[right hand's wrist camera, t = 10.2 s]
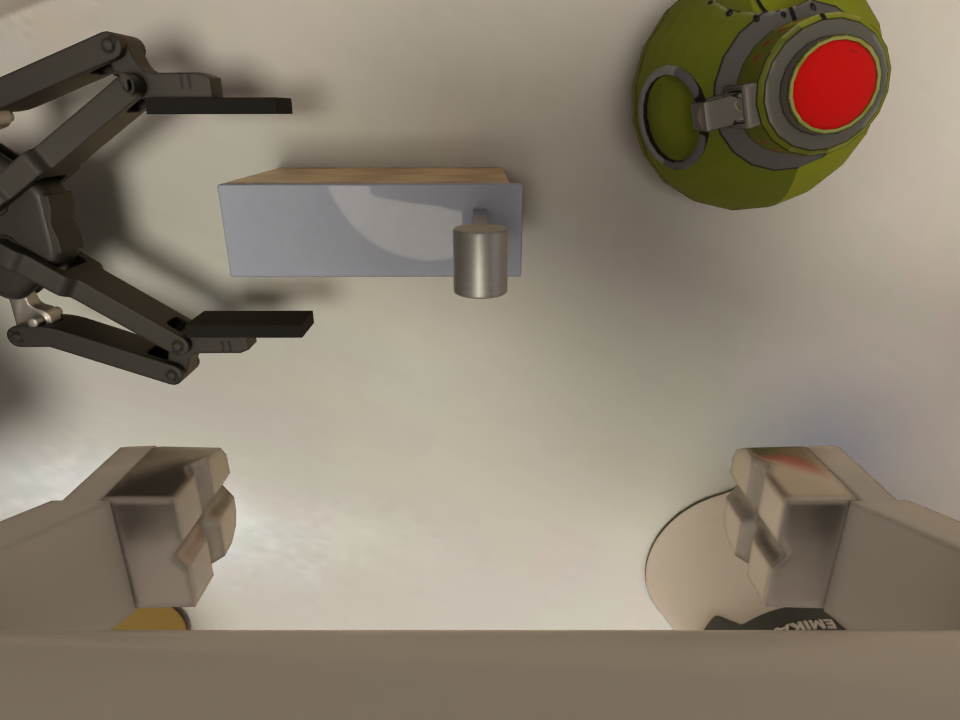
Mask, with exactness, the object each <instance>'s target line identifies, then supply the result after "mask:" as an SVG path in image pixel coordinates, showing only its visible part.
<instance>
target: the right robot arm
mask: <svg viewBox="0 0 960 720" xmlns="http://www.w3.org/2000/svg"><path fill="white" fill-rule="evenodd" d="M229 474H230V470H229V465H228V460H227V455H226V453H225V452H224V451H223V450H222V449H221V448H206V447H156V446H135V447H121V448H119V449H118V450H117V451H116V452H115V453H114V454H113V455H112V456H111V457H110V458H109V459H107V460H106V461H105V462H104V463H103V464H102V465H101V466H100V467H99V468H98V469H96V470H95V471H94V472H93V473H92V474H91V475H90V476H89V477H88V478H87V479H86V480H84V481H83V482H82V483H81V484H80V485H79V486H78V487H77V488H76V489H75V490H73V491H72V492H71V493H70V494H69V495H68V496H67V497H66V498H65V499H64V500H63V501H50V502H47V503H45V504H43V505H40V506H38V507H35V508H33V509H30V510H28V511H25V512H23V513H20V514H18V515H15V516H13V517H10V518H8V519H5V520H3V521H0V720H960V522H959V521H957V520H955V519H952V518H950V517H947V516H945V515H942V514H940V513H937V512H935V511H932V510H930V509H927V508H925V507H922V506H920V505H917V504H915V503H913V502H910V501H897V500H896V499H895V498H894V497H893V496H892V495H891V494H890V493H889V492H888V491H887V490H885V489H884V488H883V487H882V486H881V485H880V484H879V483H878V482H877V481H876V480H875V479H873V478H872V477H871V476H870V475H869V474H868V473H867V472H866V471H865V470H864V469H863V468H861V467H860V466H859V465H858V464H857V463H856V462H855V461H854V460H853V459H852V458H851V457H849V456H848V455H847V454H846V453H845V452H844V451H843V450H842V449H841V448H838V447H834V446H816V447H764V448H741V449H737V450H736V452H735V454H734V456H733V459H732V464H731V470H730V474H731V475H732V477H733V478H734V480H735V481H736V483H737V484H738V485H737V486H736V487H735V488H734V489H733V490H732V491H730V492H728V493H724V494H721V495H718V496H715V497H712V498H709V499H707V500H704V501H702V502H700V503H698V504H696V505H694V506H692V507H690V508H689V509H687V510H686V511H684V512H683V513H681V514H680V515H679V516H677V517H676V518H675V519H674V520H673V521H672V522H671V523H670V524H669V525H668V526H667V527H666V528H665V529H664V530H663V531H662V532H661V534H660V535H659V537H658V538H657V540H656V541H655V543H654V545H653V547H652V549H651V551H650V554H649V557H648V560H647V565H646V585H647V590H648V593H649V596H650V598H651V600H652V602H653V604H654V605H655V607H656V608H657V609H658V611H659V612H660V613H661V614H662V615H663V617H664V618H665V619H666V621H667V622H668V623H669V625H670V626H671V627H672V629H673V630H112V629H113V628H114V627H116V626H117V625H118V624H120V623H121V622H122V621H124V620H125V619H126V618H128V617H129V616H130V615H132V614H133V613H134V612H136V608H162V607H195V606H196V604H197V603H198V601H199V599H200V598H201V596H202V594H203V592H204V591H205V589H206V587H207V586H208V584H209V582H210V580H211V579H212V577H213V570H212V563H214V562H215V561H217V560H219V559H220V558H222V557H224V556H225V554H226V553H227V551H228V549H229V547H230V545H231V543H232V540H233V535H234V531H235V527H236V507H235V500H234V496H233V495H232V494H231V493H230V492H229V491H228V490H227V489H226V488H225V487H224V486H223V485H222V484H223V483H224V481H225V480H226V478H227V477H228V475H229Z"/></svg>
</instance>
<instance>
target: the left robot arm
mask: <svg viewBox="0 0 960 720" xmlns="http://www.w3.org/2000/svg"><path fill="white" fill-rule="evenodd" d="M145 55H146V50H145V46H144V44H143V43H142V42H141V41H140V40H139V39H137V38H135V37H131V36H126V35H122V34H117V33H112V32H108V31H106V32H101V33H99V34H97V35H94V36H92V37H90V38H88V39H85V40H83V41H81V42H79V43H76V44H74V45H72V46H70V47H67V48H65V49H63V50H61V51H58V52H56V53H54V54H52V55H49V56H47V57H45V58H43V59H40V60H38V61H36V62H34V63H31V64H29V65H27V66H25V67H22V68H20V69H18V70H16V71H13V72H11V73H9V74H7V75H4V76H2V77H0V129H3V128H6V127H8V126H9V125H10V123H11V122H12V121H13V120H14V114H13V113H12V112H18V111H24V110H29V109H32V108H35V107H37V106H39V105H42V104H44V103H46V102H49V101H51V100H53V99H56V98H58V97H60V96H63V95H65V94H67V93H69V92H72V91H74V90H76V89H79V88H81V87H83V86H86V85H88V84H90V83H93V82H95V81H97V80H99V79H102V78H104V77H106V76H109V75H111V74H113V75H114V76H117V78H116V79H115V80H114V81H113V82H111V83H110V84H109V85H108V86H107V87H106V88H104V89H103V90H102V91H101V92H100V93H99V94H97V95H96V96H95V97H94V98H93V99H91V100H90V101H89V102H88V103H87V104H86V105H84V106H83V107H82V108H81V109H80V110H79V111H77V112H76V113H75V114H74V115H73V116H72V117H70V118H69V119H68V120H67V121H66V122H64V123H63V124H62V125H61V126H60V127H59V128H57V129H56V130H55V131H54V132H53V133H52V134H50V135H49V136H48V137H47V138H46V139H44V140H43V141H42V142H41V143H40V144H39V145H37V146H36V147H35V148H33V149H31V150H28V151H26V152H24V153H23V154H21V155H19V154H18V153H16V152H14V151H13V150H11V149H10V148H8V147H7V146H5V145H3V144H2V143H0V296H2V297H5V298H8V299H10V303H11V306H12V310H13V314H14V317H15V321H16V324H17V325H16V326H14V327H11V328H10V329H9V330H8V332H7V337H8V339H9V341H10V342H11V343H12V344H13V345H15V346H19V347H52V348H56V349H59V350H62V351H65V352H68V353H72V354H75V355H78V356H81V357H84V358H88V359H91V360H94V361H97V362H101V363H104V364H107V365H110V366H113V367H117V368H120V369H123V370H126V371H129V372H133V373H136V374H139V375H142V376H146V377H149V378H152V379H155V380H158V381H162V382H165V383H168V384H172V385H176V384H179V383H180V382H181V381H182V380H184V379H185V378H186V377H187V376H188V375H189V374H190V373H191V372H192V371H194V370H195V369H196V368H197V367H198V365H199V358H198V355H199V353H241V352H244V351H246V350H249V349H250V348H251V347H252V346H253V345H254V344H255V343H256V342H257V341H256V338H302V337H303V336H304V335H305V333H306V332H307V331H308V330H309V328H310V327H311V326H312V325H313V323H314V319H313V311H204V312H202V313H201V314H200V315H198V316H197V317H195V318H194V319H193V320H191V319H189V318H187V317H185V316H184V315H182V314H180V313H178V312H177V311H175V310H173V309H171V308H170V307H168V306H166V305H164V304H163V303H161V302H159V301H157V300H156V299H154V298H152V297H150V296H149V295H147V294H145V293H143V292H142V291H140V290H138V289H136V288H135V287H133V286H131V285H129V284H128V283H126V282H124V281H122V280H121V279H119V278H117V277H115V276H114V275H112V274H110V273H108V272H107V271H105V270H104V269H103V268H102V265H101V264H100V263H99V262H97V261H96V260H94V259H92V258H90V257H89V256H87V255H85V254H83V253H82V252H80V251H79V248H81V247H84V246H83V242H82V237H81V233H80V231H79V229H78V227H77V225H76V223H75V221H74V203H73V198H72V194H71V191H66V190H65V188H64V187H63V185H62V183H63V182H64V181H65V180H66V179H68V178H69V177H70V176H71V175H73V174H74V173H75V172H76V171H77V170H78V169H79V168H80V164H81V163H83V162H84V161H85V160H86V159H87V158H89V157H90V156H91V155H92V154H94V153H95V152H96V151H97V150H98V149H100V148H101V147H102V146H103V145H104V144H106V143H107V142H108V141H109V140H110V139H112V138H113V137H114V136H115V135H117V134H118V133H119V132H120V131H121V130H123V129H124V128H125V127H126V126H127V125H129V124H130V123H131V122H132V121H133V120H135V119H136V118H137V117H138V116H140V115H141V114H142V113H143V112H144V111H147V114H293V113H292V103H291V99H290V98H276V97H259V98H223V93H222V86H221V79H220V78H218V77H216V76H213V75H211V74H205V73H158V72H156V71H155V70H154V69H153V68H152V67H151V66H150V64H149V63H148V61H147V59H146V57H145ZM65 269H66V270H65ZM43 288H45V289H47V290H49V291H51V292H53V293H54V294H57V295H59V296H64V297H71V298H73V299H75V300H77V301H79V302H81V303H82V304H84V305H86V306H88V307H89V308H91V309H93V310H95V311H97V312H98V313H100V314H102V315H104V316H106V317H107V318H109V319H111V320H113V321H115V322H116V323H118V324H120V325H122V326H124V327H125V328H127V329H129V330H131V331H133V332H134V333H131V332H128V331H125V330H122V329H119V328H116V327H113V326H110V325H106V324H103V323H100V322H97V321H94V320H91V319H88V318H84V317H80V316H76V315H69V314H63V311H62V309H61V308H60V307H58V306H55V307H54V306H52V305H48V304H45V303H43V302H42V301H41V300H40V299H39V298H38V296H37V293H38V292H40V291H41V290H42V289H43ZM135 333H136V334H135Z"/></svg>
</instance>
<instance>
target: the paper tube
mask: <svg viewBox="0 0 960 720" xmlns="http://www.w3.org/2000/svg"><path fill="white" fill-rule="evenodd" d="M112 630H186V625H185V623H184V620H183V619H182V617H181V616H180V614H179V613H178V612H177V611H176V610H175V609H174V608H172V607H162V608H136V612H134V613H133V614H132V615H130V616H129V617H128V618H126V619H125V620H124V621H122V622H121V623H120V624H118V625H117V626H116V627H114V628H113V629H112Z"/></svg>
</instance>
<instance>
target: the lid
mask: <svg viewBox="0 0 960 720" xmlns="http://www.w3.org/2000/svg"><path fill="white" fill-rule="evenodd" d="M218 192H219V199H220V205H221V212H222V219H223V226H224V232H225V239H226V246H227V253H228V260H229V266H230V273H231V277H439V276H454V292H455V294H457V295H459V296H462V297H467V298H476V299H485V298H494V297H499V296H502V295H504V294H505V293H506V292H507V276H521V252H522V207H523V185H522V183H223V184H220V185H218Z"/></svg>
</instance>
